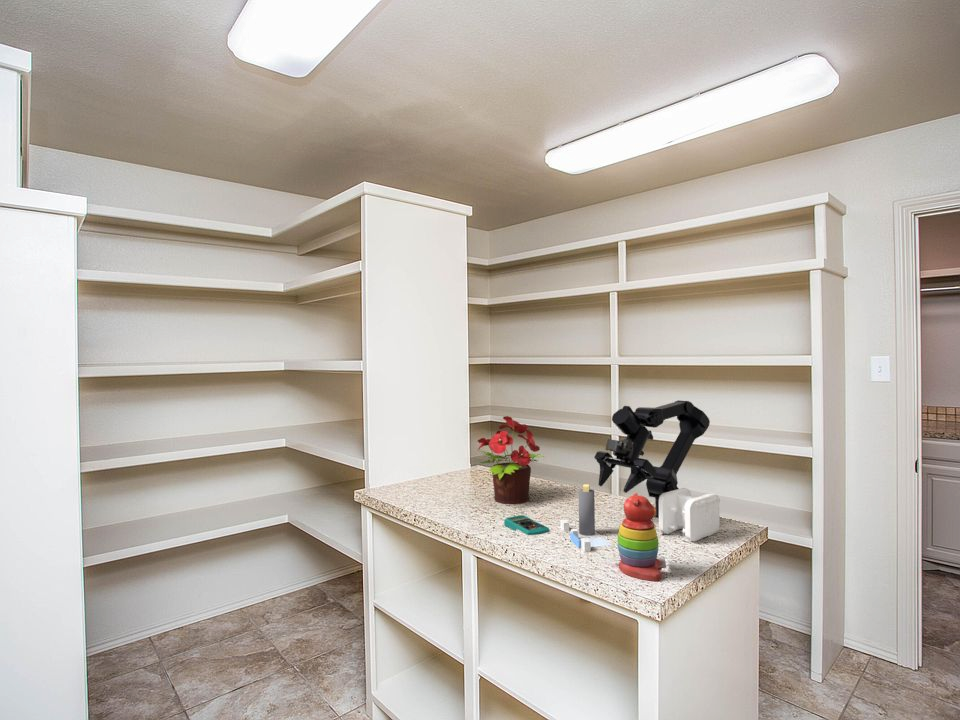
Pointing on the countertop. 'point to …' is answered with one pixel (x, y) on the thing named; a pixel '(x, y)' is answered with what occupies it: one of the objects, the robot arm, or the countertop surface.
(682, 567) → the countertop surface
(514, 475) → the potted plant
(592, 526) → the grey cylinder
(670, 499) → the cable organizer
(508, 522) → the digital multimeter
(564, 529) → the board
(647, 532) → the stacking bear
